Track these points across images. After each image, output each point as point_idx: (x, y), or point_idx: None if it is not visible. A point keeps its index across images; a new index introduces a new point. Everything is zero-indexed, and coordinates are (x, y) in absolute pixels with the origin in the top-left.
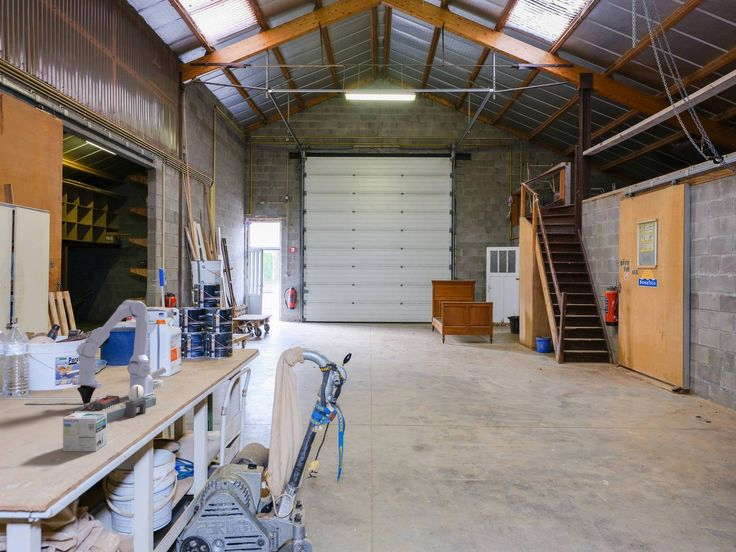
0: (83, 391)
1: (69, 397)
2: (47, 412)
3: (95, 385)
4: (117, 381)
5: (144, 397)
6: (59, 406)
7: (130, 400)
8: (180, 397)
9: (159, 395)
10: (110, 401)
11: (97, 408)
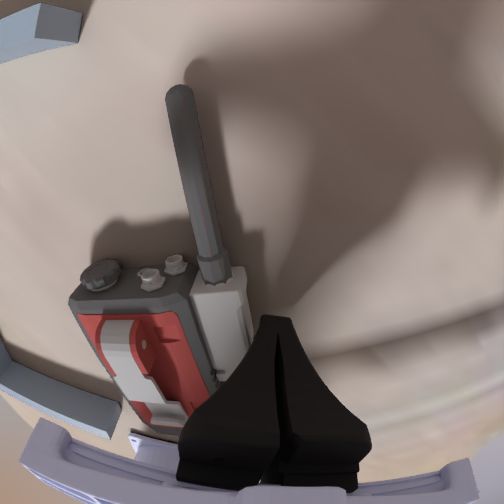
0: (245, 406)
1: (479, 394)
2: (476, 117)
3: (52, 455)
4: None
5: (21, 394)
6: (477, 273)
7: (105, 406)
8: None
9: (112, 451)
10: (101, 362)
11: (105, 264)
